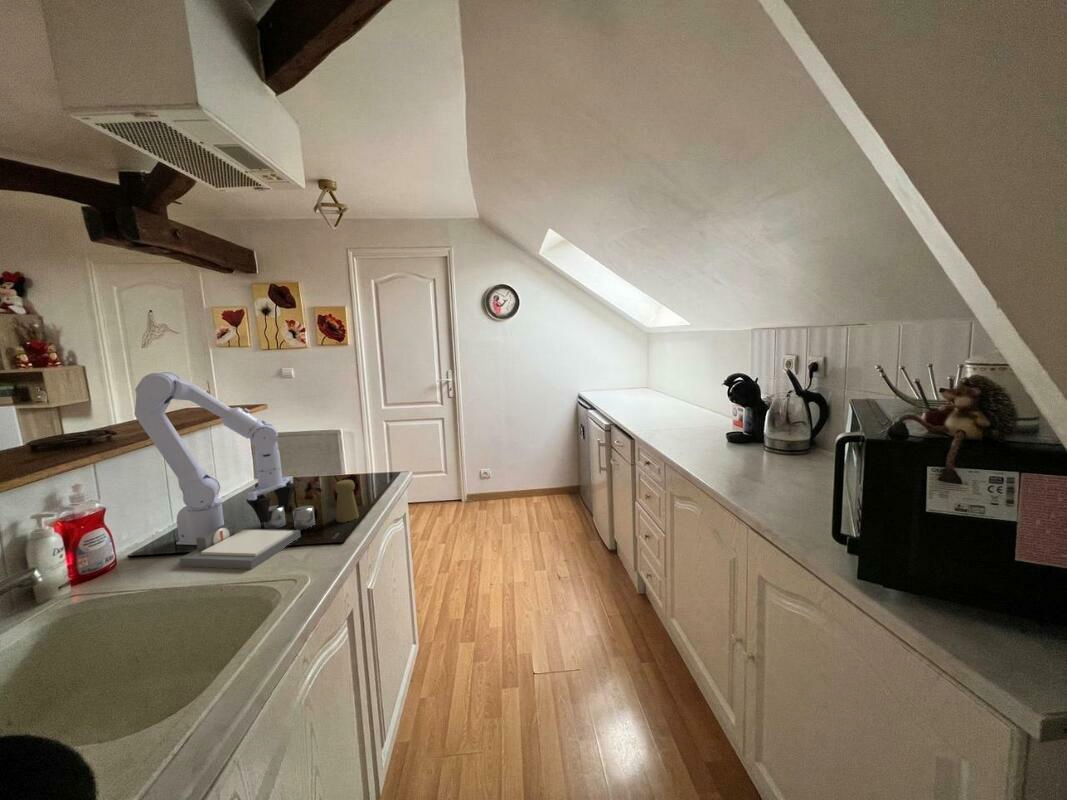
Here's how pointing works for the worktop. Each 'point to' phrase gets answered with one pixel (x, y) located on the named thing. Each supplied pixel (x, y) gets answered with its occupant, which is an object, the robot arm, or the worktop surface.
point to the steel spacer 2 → (303, 517)
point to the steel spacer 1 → (275, 517)
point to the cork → (346, 501)
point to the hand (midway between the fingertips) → (274, 516)
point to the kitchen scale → (237, 547)
